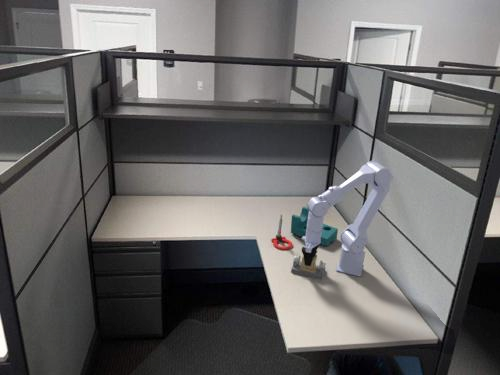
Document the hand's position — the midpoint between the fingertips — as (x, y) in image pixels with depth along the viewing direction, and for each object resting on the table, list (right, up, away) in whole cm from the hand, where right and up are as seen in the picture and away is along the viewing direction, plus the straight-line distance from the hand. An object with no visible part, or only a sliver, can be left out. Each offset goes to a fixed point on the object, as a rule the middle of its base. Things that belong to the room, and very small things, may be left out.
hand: (309, 260), depth 156 cm
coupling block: (0, -3, +1) cm, 3 cm away
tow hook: (-9, +3, +20) cm, 23 cm away
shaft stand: (0, -5, +2) cm, 5 cm away
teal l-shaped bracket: (+6, +5, +30) cm, 31 cm away
